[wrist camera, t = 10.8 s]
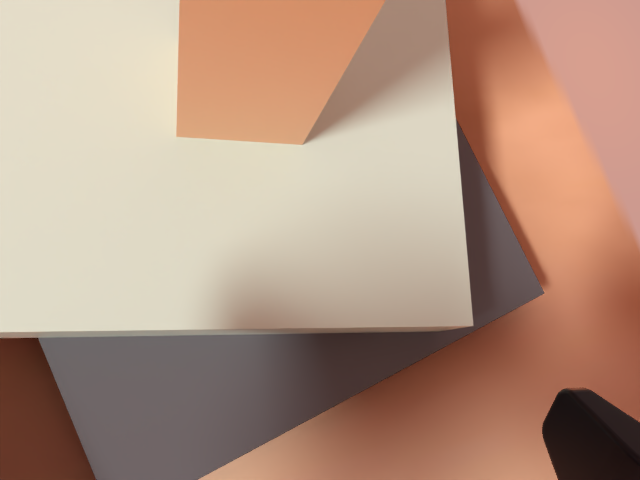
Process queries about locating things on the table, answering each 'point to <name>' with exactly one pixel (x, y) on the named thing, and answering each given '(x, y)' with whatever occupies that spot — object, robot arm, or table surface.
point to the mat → (260, 367)
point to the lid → (228, 168)
